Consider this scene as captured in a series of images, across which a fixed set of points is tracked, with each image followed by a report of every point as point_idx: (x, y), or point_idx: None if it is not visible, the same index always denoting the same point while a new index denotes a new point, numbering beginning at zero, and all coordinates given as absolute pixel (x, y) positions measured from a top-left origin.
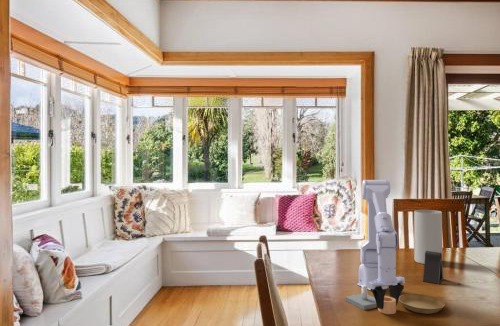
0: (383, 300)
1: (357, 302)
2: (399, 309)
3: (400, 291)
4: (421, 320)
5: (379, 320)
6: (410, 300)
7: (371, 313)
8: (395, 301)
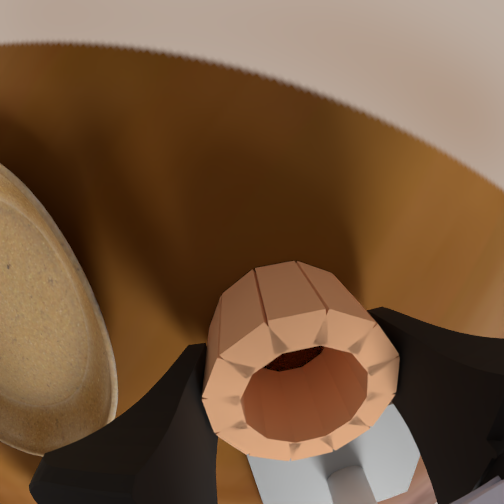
0: (420, 336)
1: None
2: (158, 333)
3: (116, 437)
4: (121, 65)
5: (453, 177)
6: (27, 410)
7: (424, 311)
8: (239, 334)
